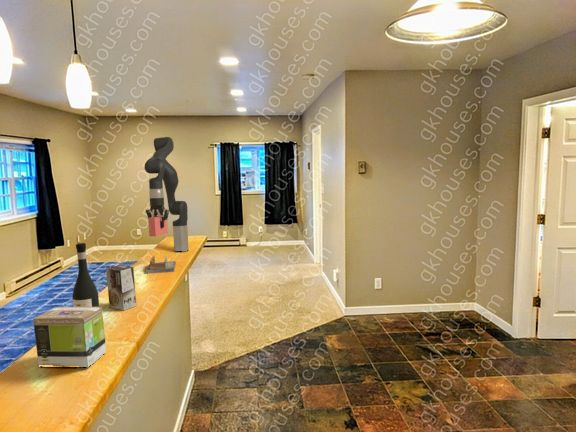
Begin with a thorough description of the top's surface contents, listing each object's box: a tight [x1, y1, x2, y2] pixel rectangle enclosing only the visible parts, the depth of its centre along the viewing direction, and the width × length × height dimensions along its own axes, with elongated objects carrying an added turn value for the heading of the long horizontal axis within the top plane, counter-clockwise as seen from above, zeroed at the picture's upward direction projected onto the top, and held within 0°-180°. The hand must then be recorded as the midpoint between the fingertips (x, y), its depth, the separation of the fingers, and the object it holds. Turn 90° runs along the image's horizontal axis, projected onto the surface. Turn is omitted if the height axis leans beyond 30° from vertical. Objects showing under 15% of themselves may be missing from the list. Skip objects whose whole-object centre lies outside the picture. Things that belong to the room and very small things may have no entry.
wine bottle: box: [72, 242, 100, 307], centre depth 139 cm, size 8×8×30 cm
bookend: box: [163, 255, 173, 268], centre depth 223 cm, size 10×4×4 cm, turn 13°
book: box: [147, 215, 169, 237], centre depth 225 cm, size 4×12×10 cm, turn 165°
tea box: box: [32, 306, 107, 367], centre depth 116 cm, size 15×10×15 cm, turn 84°
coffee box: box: [105, 264, 137, 311], centre depth 161 cm, size 9×6×16 cm
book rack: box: [145, 256, 177, 275], centre depth 222 cm, size 18×14×6 cm
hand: (158, 227), depth 225 cm, fingers closed on book, 4 cm apart
